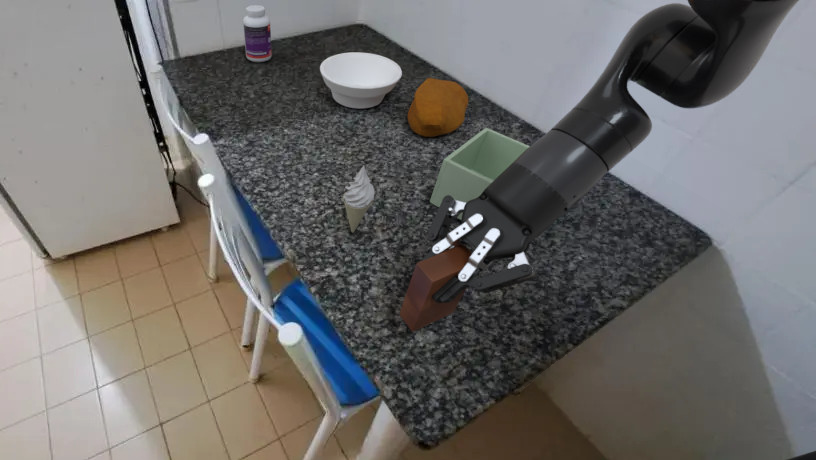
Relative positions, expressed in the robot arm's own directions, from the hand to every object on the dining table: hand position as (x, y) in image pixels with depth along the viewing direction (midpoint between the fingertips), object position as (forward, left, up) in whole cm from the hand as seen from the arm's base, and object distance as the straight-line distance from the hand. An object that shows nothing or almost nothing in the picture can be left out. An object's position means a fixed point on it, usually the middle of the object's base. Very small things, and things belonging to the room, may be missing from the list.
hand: (426, 288), depth 47 cm
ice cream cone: (+19, -11, -13) cm, 26 cm away
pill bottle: (+89, -47, -13) cm, 102 cm away
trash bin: (+6, -36, -13) cm, 39 cm away
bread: (+29, -55, -13) cm, 64 cm away
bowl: (+51, -50, -13) cm, 73 cm away
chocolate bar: (-1, -2, -7) cm, 7 cm away
